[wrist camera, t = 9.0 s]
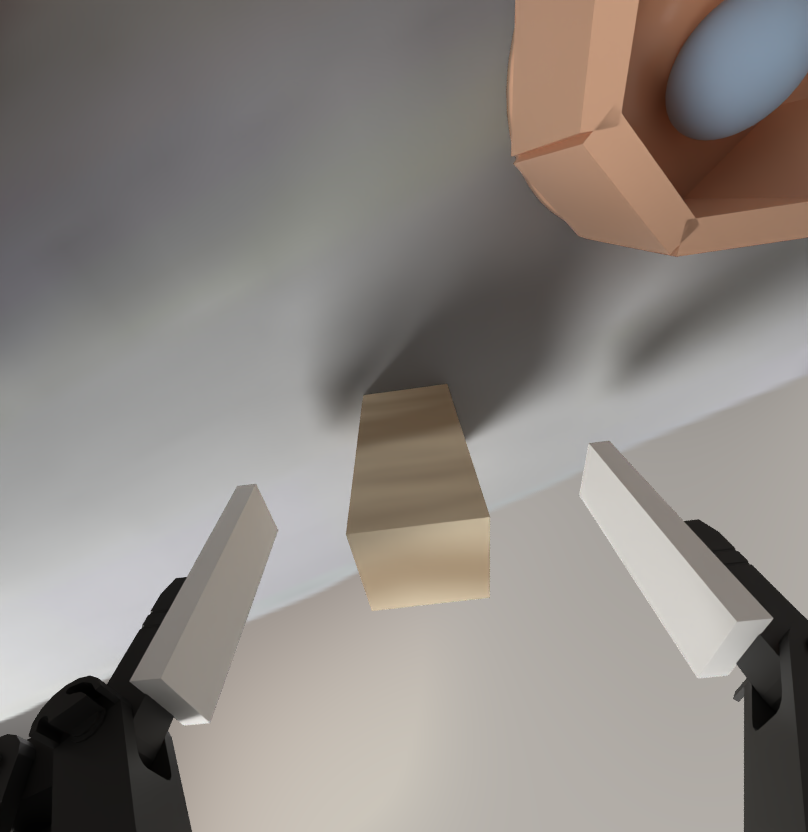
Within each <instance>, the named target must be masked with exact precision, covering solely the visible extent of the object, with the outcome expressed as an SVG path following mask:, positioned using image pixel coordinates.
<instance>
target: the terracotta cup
mask: <svg viewBox="0 0 808 832" xmlns="http://www.w3.org/2000/svg"><path fill="white" fill-rule="evenodd" d="M723 1H724V0H515V28H514V32H513V36H512V42H511V48H510V55H509V61H508V72H507V86H506V98H507V118H508V125H509V133H510V138H511V157H512V156H515V157H516V161H515V162H514V163H513V164H514V165H515V166H516V167H517V168H518V169H519V170H520V172H521V173H522V175H523V177H524V178H525V180H526V182H527V184H528V186H529V187H530V189H531V190H532V192H533V193H534V194H535V196H536V197H537V198H538V199H539V201H540V202H541V203H542V204H543V205H544V206H545V207H546V208H547V209H549V210H550V211H551V212H552V213H553V214H555V215H556V216H558V217H559V218H561V219H562V220H564V221H566V223H567V224H568V225H569V226H570V227H571V228H572V229H573V230H574V231H575V233H576V234H577V235H578V236H579V237H583V238H585V239H590V240H595V241H600V242H605V243H610V244H615V245H620V246H625V247H630V248H635V249H640V250H645V251H650V252H655V253H660V254H665V255H670V256H675V257H678V256H685V255H692V254H699V253H706V252H712V251H719V250H726V249H733V248H740V247H746V246H753V245H760V244H767V243H774V242H781V241H787V240H794V239H801V238H808V73H807V74H806V76H805V77H804V79H803V80H802V81H801V83H800V84H799V85H798V87H797V88H796V89H795V90H794V91H793V92H792V94H791V95H790V96H789V97H788V98H787V99H786V100H785V101H784V102H783V103H782V104H781V105H780V106H779V107H778V108H776V109H775V110H774V111H773V112H772V113H770V114H769V115H768V116H766V117H765V118H764V119H762V120H761V121H759V122H758V123H756V124H755V125H753V126H751V127H749V128H747V129H746V130H744V131H741V132H739V133H737V134H734V135H732V136H728V137H725V138H721V139H716V140H696V139H692V138H689V137H686V136H684V135H683V134H681V133H680V132H679V131H677V129H676V128H675V127H674V126H673V125H672V123H671V122H670V120H669V117H668V114H667V110H666V98H665V95H666V87H667V82H668V78H669V75H670V72H671V69H672V66H673V64H674V62H675V59H676V57H677V55H678V54H679V52H680V50H681V48H682V46H683V45H684V43H685V42H686V40H687V39H688V37H689V36H690V35H691V33H692V32H693V31H694V30H695V28H696V27H697V26H698V25H699V23H700V22H701V21H702V20H703V19H704V18H705V17H706V16H707V15H708V14H709V13H710V12H711V11H712V10H713V9H714V8H716V7H717V6H718V5H719V4H720V3H721V2H723Z"/></svg>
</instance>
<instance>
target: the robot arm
mask: <svg viewBox="0 0 808 832" xmlns="http://www.w3.org/2000/svg"><path fill="white" fill-rule="evenodd" d="M579 496H580V497H581V499H582V500H583V502H584V503H585V505H586V506H587V508H588V510H589V511H590V513H591V514H592V516H593V517H594V519H595V520H596V522H597V523H598V525H599V527H600V528H601V530H602V531H603V533H604V534H605V536H606V537H607V539H608V541H609V542H610V544H611V545H612V547H613V548H614V550H615V551H616V553H617V554H618V556H619V557H620V559H621V561H622V562H623V564H624V565H625V567H626V568H627V570H628V571H629V573H630V574H631V576H632V578H633V579H634V581H635V582H636V584H637V585H638V587H639V588H640V590H641V592H642V593H643V594H644V596H645V598H646V599H647V601H648V602H649V604H650V605H651V607H652V608H653V610H654V612H655V613H656V615H657V616H658V618H659V619H660V621H661V622H662V624H663V625H664V627H665V629H666V630H667V632H668V633H669V635H670V636H671V638H672V639H673V641H674V643H675V644H676V646H677V647H678V649H679V650H680V652H681V653H682V655H683V656H684V658H685V660H686V661H687V663H688V664H689V666H690V667H691V669H692V670H693V672H694V673H695V675H696V677H697V678H707V677H718V676H728V675H729V674H730V672H731V671H732V670H733V669H734V667H735V666H736V665H738V667H739V668H740V669H741V670H742V672H743V673H744V675H745V676H746V677H747V679H746V680H745V681H744V682H743V683H742V684H741V686H740V687H739V688H738V689H737V690H736V691H735V694H734V698H733V699H734V700H736V701H738V702H739V701H740V700H741V699H742V698H743V697H744V832H808V620H807V619H806V618H805V617H804V616H803V615H802V614H801V613H800V612H799V611H798V610H797V609H796V608H795V607H794V606H793V605H792V604H791V603H790V602H789V601H788V600H787V599H786V598H785V597H784V596H783V595H782V594H781V593H780V592H779V591H778V590H776V588H775V587H773V585H772V584H770V582H769V581H768V580H766V578H764V576H763V575H762V574H761V573H759V571H757V569H756V568H754V566H752V565H750V564H749V563H748V561H747V559H746V558H745V557H744V556H742V555H741V554H740V553H739V552H738V551H736V550H735V548H734V547H733V546H732V545H731V544H730V543H729V542H728V541H727V540H726V539H725V538H724V537H723V536H722V535H721V534H720V533H719V532H718V531H716V530H715V529H713V528H712V527H710V526H708V525H707V524H705V523H704V522H702V521H700V520H690V521H683V520H682V519H681V518H680V517H679V516H678V515H677V514H676V512H675V511H674V510H673V509H672V508H671V507H670V506H669V505H668V504H667V503H666V502H665V501H664V499H662V497H661V496H660V495H659V494H658V493H657V492H656V491H655V490H654V489H653V488H652V487H651V486H650V484H649V483H648V482H647V481H646V480H645V479H644V478H643V477H642V476H641V475H640V474H639V473H638V471H636V469H635V468H634V467H633V466H632V465H631V464H630V463H629V462H628V461H627V459H626V458H625V457H624V456H623V455H622V454H621V453H620V452H619V451H618V450H617V449H616V448H615V447H614V445H613V444H612V443H611V442H610V441H603V442H595V443H589V445H588V451H587V456H586V462H585V467H584V472H583V478H582V483H581V489H580V494H579ZM277 532H278V529H277V527H276V525H275V523H274V521H273V519H272V516H271V514H270V512H269V510H268V508H267V506H266V504H265V502H264V500H263V498H262V496H261V493H260V491H259V489H258V487H257V485H256V484H250V485H242V486H237V488H236V489H235V491H234V493H233V495H232V497H231V498H230V500H229V502H228V504H227V506H226V508H225V509H224V511H223V513H222V515H221V517H220V518H219V520H218V522H217V524H216V526H215V527H214V529H213V531H212V533H211V535H210V536H209V538H208V540H207V542H206V544H205V545H204V547H203V549H202V551H201V553H200V555H199V556H198V558H197V560H196V562H195V564H194V565H193V567H192V569H191V571H190V573H189V574H188V576H187V577H183V578H176V579H175V580H174V581H173V582H172V583H171V584H170V585H169V586H168V587H167V588H166V589H165V590H164V591H163V592H162V593H161V595H160V596H159V598H158V600H157V601H156V603H155V605H154V606H153V608H152V610H151V614H150V615H148V616H147V618H146V620H145V622H144V623H143V625H142V629H140V630H139V632H138V633H137V635H136V637H135V638H134V640H133V642H132V643H131V645H130V647H129V648H128V650H127V652H126V653H125V655H124V657H123V658H122V660H121V662H120V663H119V665H118V667H117V668H116V670H115V672H114V674H113V675H112V677H111V679H110V680H109V682H108V684H107V685H106V684H105V683H104V682H102V681H101V680H100V679H99V678H96V677H93V676H87V677H82V678H79V679H77V680H75V681H73V682H71V683H69V684H68V685H66V686H65V687H64V688H62V689H61V690H60V691H59V692H57V693H56V694H55V695H54V696H53V697H52V698H51V699H50V700H49V701H48V702H47V703H46V704H45V706H44V707H43V708H42V709H41V711H40V712H39V714H38V715H37V717H36V718H35V720H34V722H33V724H32V726H31V730H30V733H29V737H31V738H30V739H28V740H25V739H23V738H21V737H19V736H17V735H10V734H7V735H4V736H1V737H0V832H192V830H191V825H190V820H189V816H188V811H187V807H186V802H185V797H184V792H183V788H182V784H181V778H180V774H179V769H178V765H177V760H176V755H175V751H174V746H173V741H172V737H171V736H170V734H169V732H168V729H169V727H170V724H171V722H172V720H173V717H174V718H175V719H176V720H178V721H179V722H180V723H181V724H182V725H193V724H204V723H210V722H211V719H212V716H213V713H214V710H215V708H216V705H217V702H218V699H219V696H220V694H221V691H222V688H223V685H224V682H225V679H226V677H227V674H228V671H229V668H230V665H231V662H232V659H233V657H234V654H235V651H236V648H237V645H238V643H239V640H240V637H241V634H242V631H243V628H244V626H245V623H246V620H247V617H248V614H249V611H250V608H251V606H252V603H253V600H254V597H255V594H256V591H257V589H258V586H259V583H260V580H261V577H262V574H263V572H264V569H265V566H266V563H267V560H268V557H269V555H270V552H271V549H272V546H273V543H274V540H275V537H276V535H277Z"/></svg>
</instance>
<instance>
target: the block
mask: <svg viewBox="0 0 808 832" xmlns="http://www.w3.org/2000/svg"><path fill="white" fill-rule="evenodd" d="M346 536H347V539H348V542H349V545H350V548H351V550H352V553H353V556H354V559H355V562H356V565H357V568H358V571H359V574H360V577H361V580H362V583H363V586H364V589H365V592H366V595H367V597H368V601H369V603H370V606H371V609H372V611H376V610H384V609H393V608H402V607H410V606H419V605H429V604H437V603H446V602H454V601H464V600H473V599H481V598H489V597H490V593H489V592H490V516H489V512H488V509H487V506H486V503H485V500H484V497H483V494H482V491H481V488H480V484H479V481H478V478H477V475H476V472H475V469H474V466H473V463H472V460H471V457H470V453H469V450H468V447H467V444H466V441H465V438H464V435H463V432H462V429H461V425H460V422H459V419H458V416H457V413H456V410H455V407H454V404H453V401H452V397H451V394H450V391H449V388H448V385H447V384H442V385H434V386H427V387H420V388H412V389H405V390H398V391H390V392H383V393H376V394H368V395H363V401H362V409H361V417H360V425H359V433H358V441H357V449H356V458H355V466H354V474H353V482H352V490H351V498H350V506H349V514H348V523H347V531H346Z"/></svg>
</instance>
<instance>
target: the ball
mask: <svg viewBox="0 0 808 832" xmlns="http://www.w3.org/2000/svg"><path fill="white" fill-rule="evenodd" d="M807 73H808V0H724V1H723V2H721V3H720V4H719V5H718V6H717V7H716V8H714V9H713V10H712V11H711V12H710V13H709V14H708V15H707V16H706V17H705V18H704V19H703V20H702V21H701V22H700V23H699V25H698V26H697V27H696V28H695V30H694V31H693V32H692V33H691V35H690V36H689V37H688V39H687V40H686V42H685V43H684V45H683V46H682V48H681V50H680V52H679V54H678V55H677V57H676V59H675V62H674V64H673V66H672V69H671V72H670V75H669V78H668V82H667V87H666V95H665V98H666V110H667V114H668V117H669V120H670V122H671V123H672V125H673V126H674V127H675V128H676V129H677V131H679V132H680V133H681V134H683V135H684V136H686V137H689V138H692V139H696V140H716V139H721V138H725V137H728V136H732V135H734V134H737V133H739V132H741V131H744V130H746V129H747V128H749V127H751V126H753V125H755V124H756V123H758V122H759V121H761V120H762V119H764V118H765V117H766V116H768V115H769V114H770V113H772V112H773V111H774V110H775V109H776V108H778V107H779V106H780V105H781V104H782V103H783V102H784V101H785V100H786V99H787V98H788V97H789V96H790V95H791V94H792V92H793V91H794V90H795V89H796V88H797V87H798V85H799V84H800V83H801V81H802V80H803V79H804V77H805V76H806V74H807Z"/></svg>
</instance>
